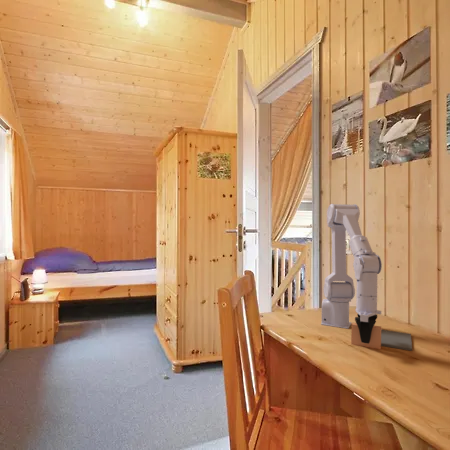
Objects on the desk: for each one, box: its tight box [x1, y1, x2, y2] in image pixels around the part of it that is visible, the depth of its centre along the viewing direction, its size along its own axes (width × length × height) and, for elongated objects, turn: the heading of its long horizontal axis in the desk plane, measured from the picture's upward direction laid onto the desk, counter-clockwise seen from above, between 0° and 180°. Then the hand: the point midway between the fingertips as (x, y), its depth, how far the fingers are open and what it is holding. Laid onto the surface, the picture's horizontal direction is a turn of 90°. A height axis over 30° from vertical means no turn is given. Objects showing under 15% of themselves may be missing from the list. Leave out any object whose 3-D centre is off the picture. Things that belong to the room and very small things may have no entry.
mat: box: [381, 329, 413, 352], centre depth 105 cm, size 14×16×1 cm
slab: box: [350, 322, 382, 350], centre depth 98 cm, size 8×2×6 cm, turn 62°
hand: (366, 340), depth 98 cm, fingers open, 4 cm apart
